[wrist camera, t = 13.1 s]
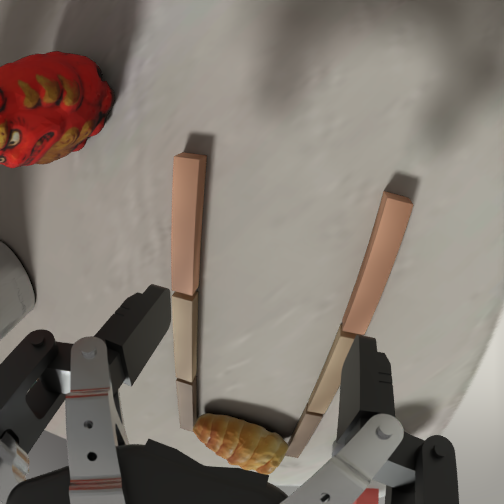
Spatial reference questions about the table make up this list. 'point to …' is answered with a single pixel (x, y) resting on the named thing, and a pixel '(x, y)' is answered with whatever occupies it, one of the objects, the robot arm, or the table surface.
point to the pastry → (241, 442)
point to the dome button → (372, 493)
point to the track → (187, 281)
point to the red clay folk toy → (50, 107)
